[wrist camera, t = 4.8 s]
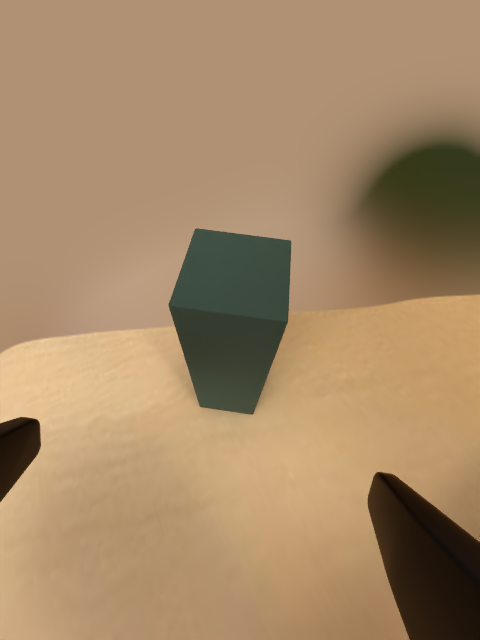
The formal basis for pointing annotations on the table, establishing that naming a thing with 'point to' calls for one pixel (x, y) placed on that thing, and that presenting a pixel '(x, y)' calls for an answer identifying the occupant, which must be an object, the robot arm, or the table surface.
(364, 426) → the table surface
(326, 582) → the table surface
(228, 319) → the dark teal rectangular block
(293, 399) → the table surface
